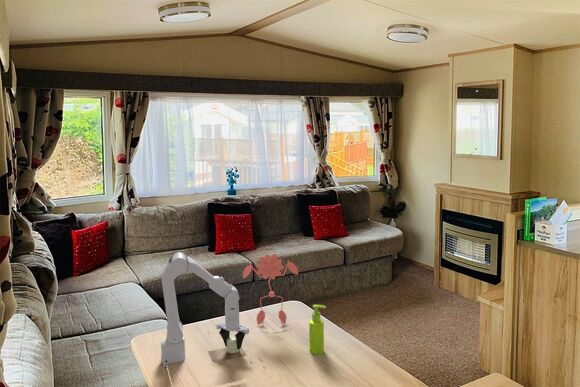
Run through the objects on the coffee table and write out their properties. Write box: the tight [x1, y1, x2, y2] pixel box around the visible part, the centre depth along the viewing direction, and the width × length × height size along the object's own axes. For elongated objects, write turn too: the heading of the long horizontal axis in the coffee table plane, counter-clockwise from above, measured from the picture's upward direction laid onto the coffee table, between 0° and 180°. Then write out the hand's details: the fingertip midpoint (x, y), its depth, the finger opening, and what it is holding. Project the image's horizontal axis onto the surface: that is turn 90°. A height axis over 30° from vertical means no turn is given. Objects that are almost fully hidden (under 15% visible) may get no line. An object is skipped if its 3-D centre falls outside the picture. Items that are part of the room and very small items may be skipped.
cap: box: [226, 335, 240, 354], centre depth 203 cm, size 5×5×5 cm
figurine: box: [242, 253, 299, 334], centre depth 226 cm, size 15×26×35 cm, turn 90°
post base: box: [207, 346, 247, 363], centre depth 201 cm, size 14×10×4 cm
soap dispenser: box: [308, 304, 327, 355], centre depth 202 cm, size 6×7×20 cm
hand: (233, 347), depth 203 cm, fingers closed on cap, 5 cm apart
